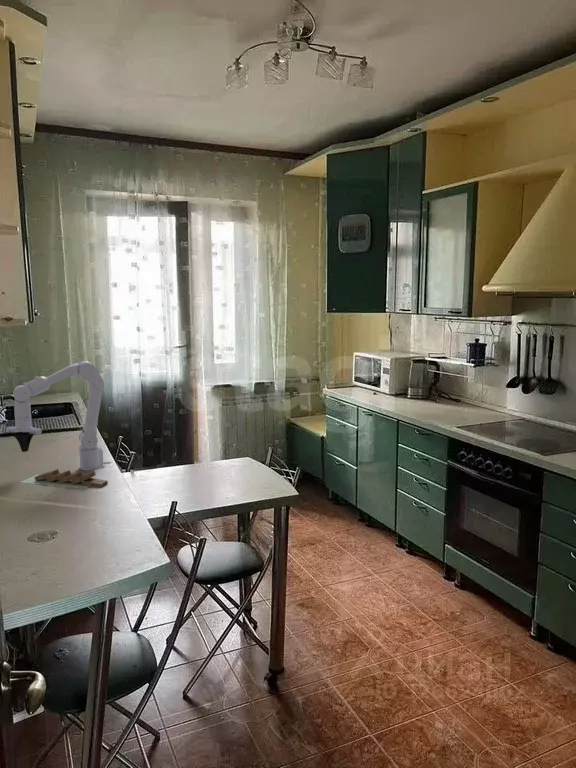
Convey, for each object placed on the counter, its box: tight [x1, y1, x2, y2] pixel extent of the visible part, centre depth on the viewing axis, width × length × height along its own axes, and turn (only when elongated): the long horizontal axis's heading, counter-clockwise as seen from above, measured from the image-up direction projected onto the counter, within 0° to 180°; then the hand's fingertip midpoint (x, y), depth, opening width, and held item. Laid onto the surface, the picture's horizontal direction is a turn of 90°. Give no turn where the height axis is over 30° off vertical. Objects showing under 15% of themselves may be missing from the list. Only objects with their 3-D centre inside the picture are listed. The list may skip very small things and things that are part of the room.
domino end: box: [83, 477, 109, 489], centre depth 215 cm, size 4×2×8 cm
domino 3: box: [58, 470, 84, 483], centre depth 217 cm, size 4×2×8 cm
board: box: [20, 474, 91, 490], centre depth 219 cm, size 10×28×1 cm, turn 75°
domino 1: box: [35, 469, 60, 481], centre depth 220 cm, size 4×2×8 cm
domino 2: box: [46, 469, 72, 482], centre depth 218 cm, size 4×2×8 cm
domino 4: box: [71, 470, 96, 485], centre depth 216 cm, size 4×2×8 cm
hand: (25, 451), depth 225 cm, fingers closed
